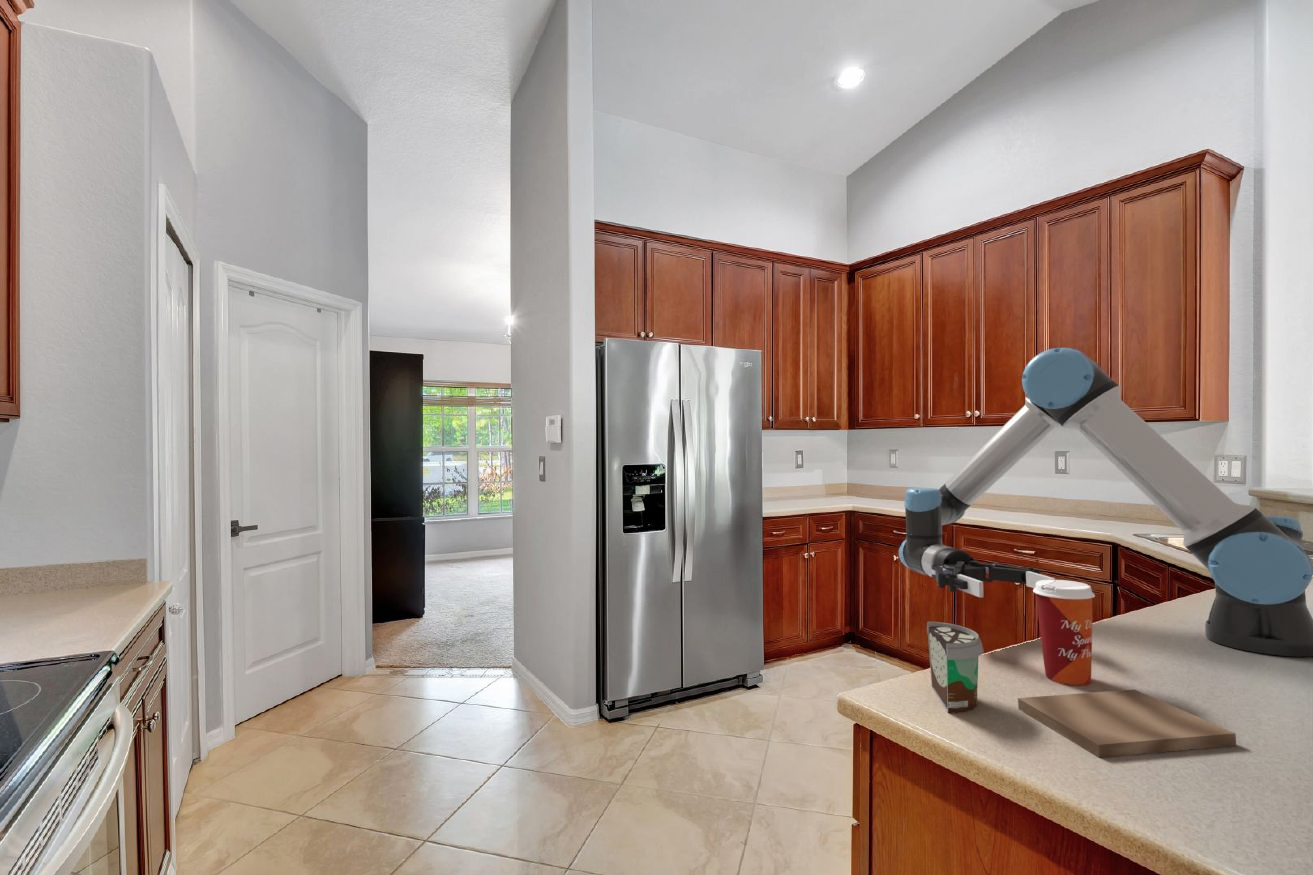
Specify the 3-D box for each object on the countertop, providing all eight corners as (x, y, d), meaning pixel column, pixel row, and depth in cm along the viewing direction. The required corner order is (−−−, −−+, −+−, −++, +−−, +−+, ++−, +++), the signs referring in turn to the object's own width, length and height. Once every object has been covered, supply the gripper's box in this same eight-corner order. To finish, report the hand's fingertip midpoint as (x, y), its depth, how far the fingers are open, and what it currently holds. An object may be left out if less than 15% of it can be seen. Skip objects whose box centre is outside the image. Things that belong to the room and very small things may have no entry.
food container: (999, 719, 83) (995, 646, 83) (950, 717, 84) (947, 644, 84) (971, 685, 95) (968, 621, 95) (929, 684, 96) (926, 620, 96)
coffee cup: (1078, 692, 91) (1072, 592, 91) (1025, 674, 98) (1021, 582, 99) (1112, 682, 94) (1107, 585, 94) (1059, 666, 102) (1054, 576, 102)
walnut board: (1135, 699, 87) (1134, 689, 87) (1236, 745, 74) (1235, 733, 74) (1018, 708, 86) (1017, 697, 86) (1099, 757, 72) (1098, 744, 72)
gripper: (1005, 580, 129) (1084, 605, 108) (893, 585, 127) (951, 612, 105) (1003, 545, 129) (1082, 563, 108) (891, 549, 127) (949, 569, 106)
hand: (1017, 587), depth 107 cm, fingers open, 13 cm apart
